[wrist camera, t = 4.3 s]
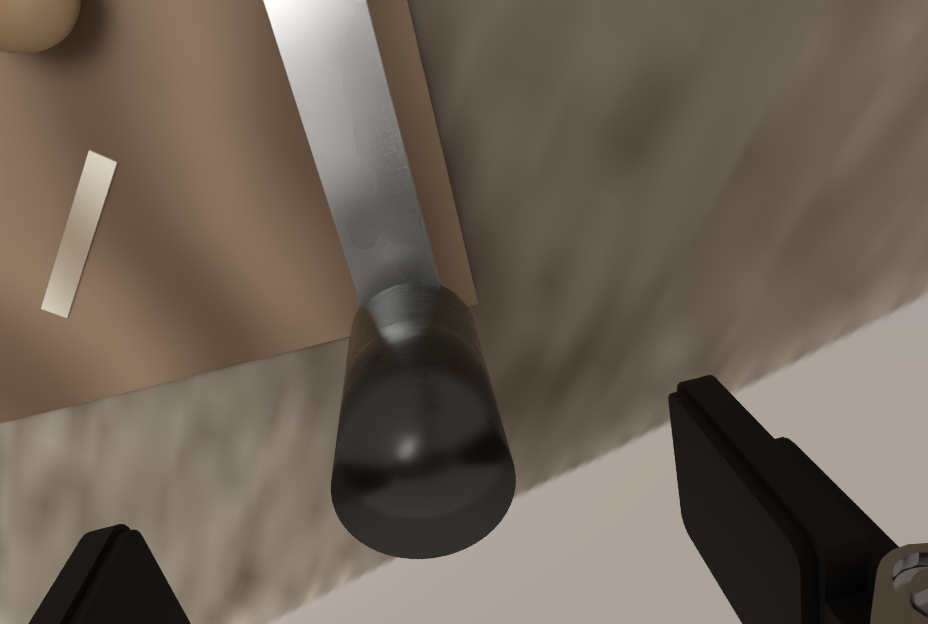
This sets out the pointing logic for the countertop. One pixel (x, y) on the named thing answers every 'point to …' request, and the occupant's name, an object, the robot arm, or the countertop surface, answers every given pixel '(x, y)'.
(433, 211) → the press base
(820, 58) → the countertop surface
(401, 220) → the lever
